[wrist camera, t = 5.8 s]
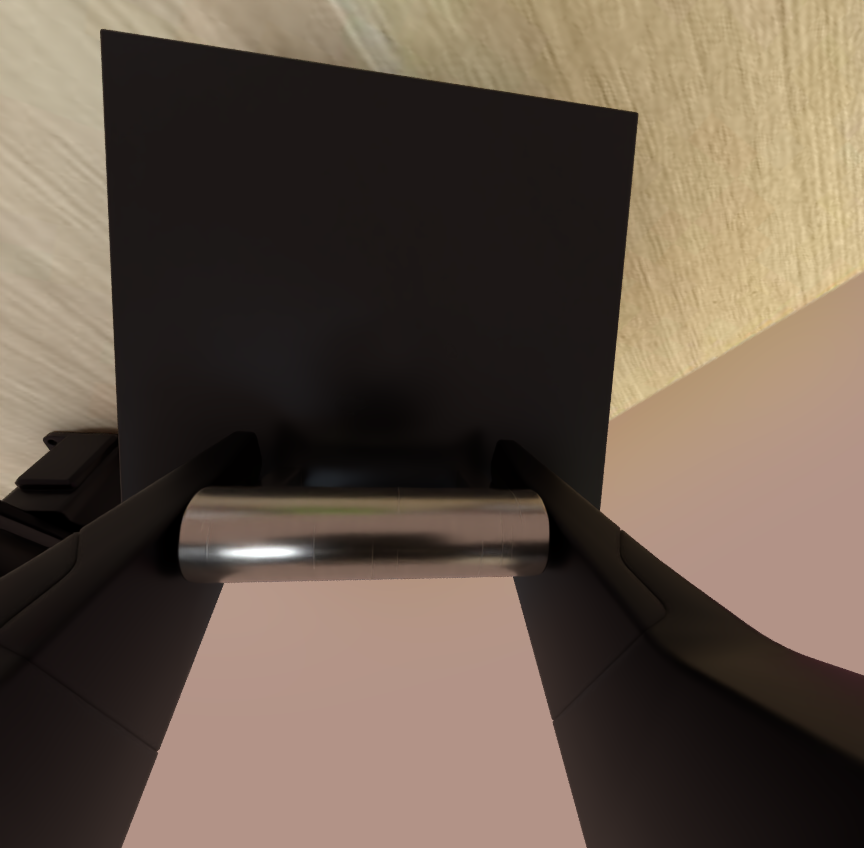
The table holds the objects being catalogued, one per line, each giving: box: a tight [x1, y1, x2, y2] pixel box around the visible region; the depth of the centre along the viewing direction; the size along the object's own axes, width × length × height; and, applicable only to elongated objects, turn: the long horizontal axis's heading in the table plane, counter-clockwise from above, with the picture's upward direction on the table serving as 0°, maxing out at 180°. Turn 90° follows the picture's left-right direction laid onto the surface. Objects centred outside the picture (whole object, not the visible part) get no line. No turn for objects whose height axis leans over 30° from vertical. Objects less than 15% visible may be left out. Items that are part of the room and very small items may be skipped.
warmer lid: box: [100, 29, 638, 583], centre depth 8 cm, size 12×14×5 cm
